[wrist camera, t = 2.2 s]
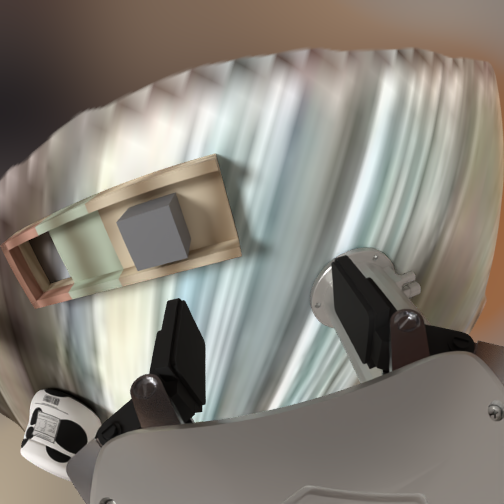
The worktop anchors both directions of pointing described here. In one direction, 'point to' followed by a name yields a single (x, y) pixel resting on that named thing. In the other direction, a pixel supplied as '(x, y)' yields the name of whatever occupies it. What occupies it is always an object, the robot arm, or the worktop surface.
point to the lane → (110, 239)
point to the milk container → (57, 430)
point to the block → (155, 232)
